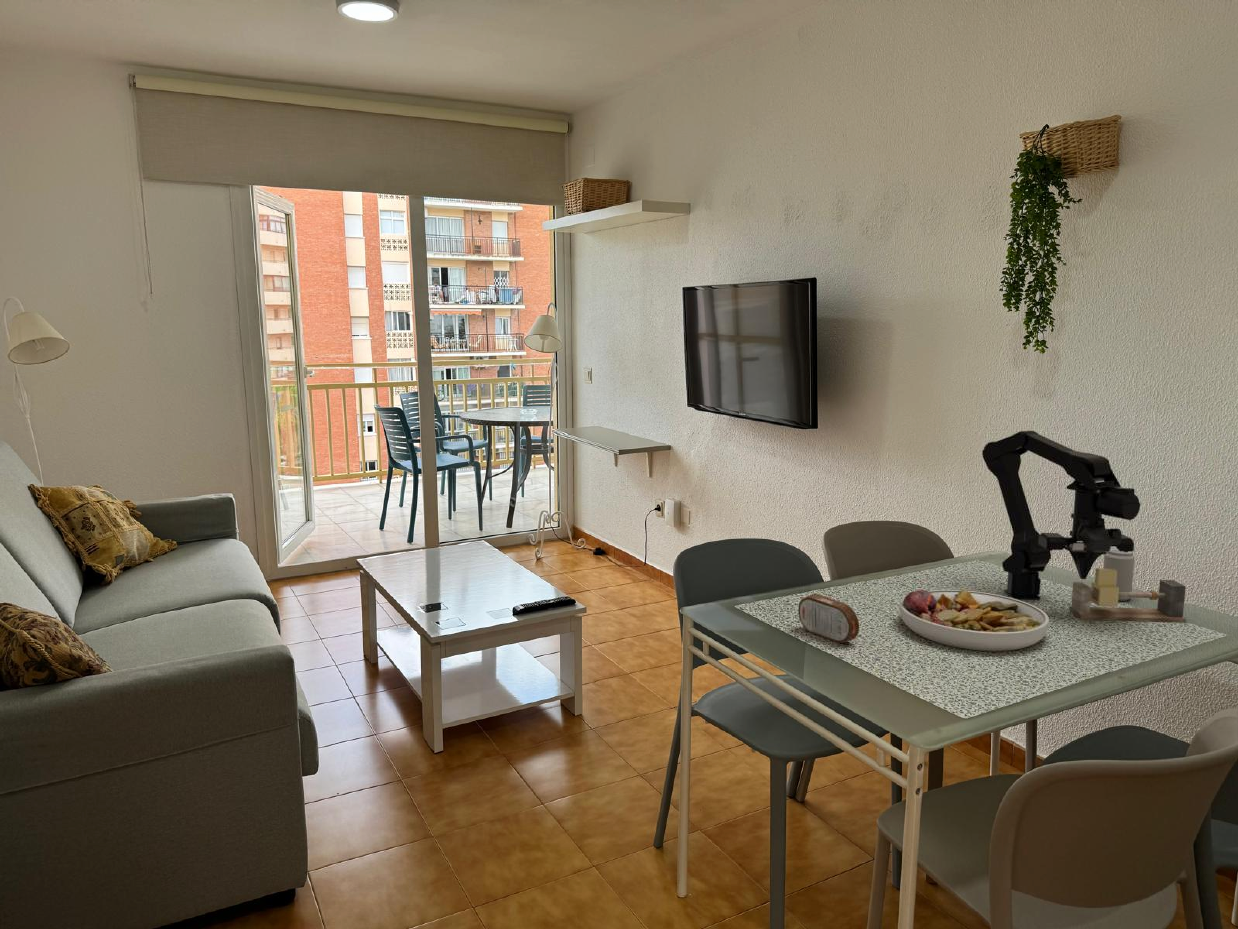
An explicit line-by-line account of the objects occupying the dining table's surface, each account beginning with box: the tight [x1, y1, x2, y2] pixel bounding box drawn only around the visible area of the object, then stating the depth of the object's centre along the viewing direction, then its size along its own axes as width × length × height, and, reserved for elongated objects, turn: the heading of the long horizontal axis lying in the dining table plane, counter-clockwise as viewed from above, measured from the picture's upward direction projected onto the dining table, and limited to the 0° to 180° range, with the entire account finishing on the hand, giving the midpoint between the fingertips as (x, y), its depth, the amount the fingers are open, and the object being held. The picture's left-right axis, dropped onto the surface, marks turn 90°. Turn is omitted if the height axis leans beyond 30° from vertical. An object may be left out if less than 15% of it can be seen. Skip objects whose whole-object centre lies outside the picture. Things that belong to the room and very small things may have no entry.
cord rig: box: [1068, 579, 1187, 623], centre depth 199 cm, size 22×7×8 cm, turn 85°
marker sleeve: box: [1090, 568, 1119, 608], centre depth 199 cm, size 4×4×8 cm
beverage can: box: [1102, 547, 1135, 602], centre depth 212 cm, size 6×6×12 cm
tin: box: [798, 593, 860, 644], centre depth 185 cm, size 15×3×8 cm, turn 35°
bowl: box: [899, 589, 1050, 652], centre depth 189 cm, size 30×30×8 cm
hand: (1082, 578), depth 199 cm, fingers closed
